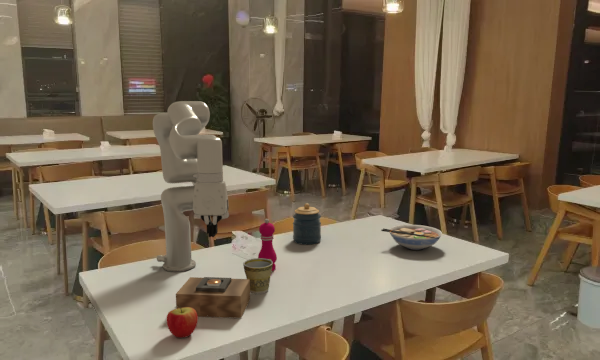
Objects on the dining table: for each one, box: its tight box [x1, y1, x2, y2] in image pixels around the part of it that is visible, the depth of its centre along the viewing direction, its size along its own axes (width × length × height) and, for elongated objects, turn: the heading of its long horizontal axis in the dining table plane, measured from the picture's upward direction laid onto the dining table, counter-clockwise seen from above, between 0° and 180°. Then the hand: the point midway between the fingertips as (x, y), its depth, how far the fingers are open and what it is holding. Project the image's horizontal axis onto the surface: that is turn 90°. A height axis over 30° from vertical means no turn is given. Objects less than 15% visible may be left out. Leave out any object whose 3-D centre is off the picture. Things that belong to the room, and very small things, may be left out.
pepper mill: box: [257, 218, 278, 272], centre depth 190 cm, size 7×7×20 cm
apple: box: [166, 304, 199, 339], centre depth 138 cm, size 8×8×10 cm
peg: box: [207, 279, 221, 286], centre depth 156 cm, size 4×4×8 cm
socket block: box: [175, 276, 251, 319], centre depth 156 cm, size 20×14×8 cm
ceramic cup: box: [242, 257, 273, 295], centre depth 171 cm, size 13×10×10 cm
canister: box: [292, 203, 322, 245], centre depth 227 cm, size 13×13×18 cm
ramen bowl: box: [380, 224, 443, 251], centre depth 217 cm, size 25×23×8 cm
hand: (212, 235), depth 154 cm, fingers closed
